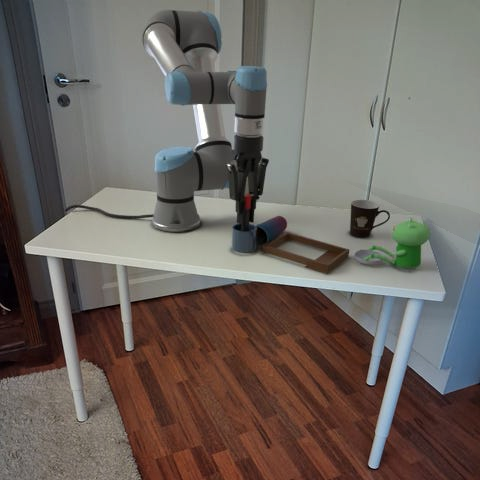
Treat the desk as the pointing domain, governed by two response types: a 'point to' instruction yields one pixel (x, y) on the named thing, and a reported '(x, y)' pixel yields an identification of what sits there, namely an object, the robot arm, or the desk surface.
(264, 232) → the cup
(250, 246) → the pen cup
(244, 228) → the marker
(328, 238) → the desk surface
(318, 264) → the pen tray
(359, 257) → the shallow grey dish
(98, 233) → the desk surface
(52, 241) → the desk surface
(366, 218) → the coffee mug
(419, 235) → the toy character
